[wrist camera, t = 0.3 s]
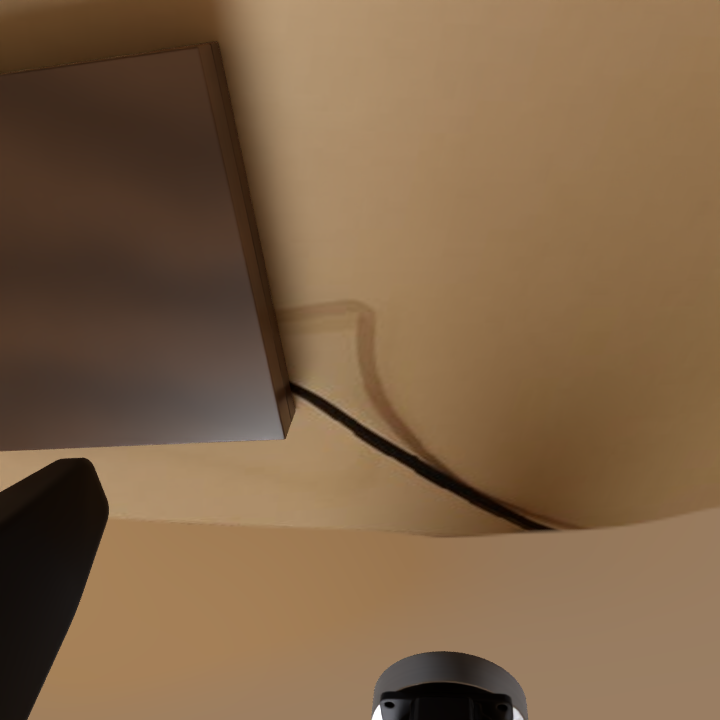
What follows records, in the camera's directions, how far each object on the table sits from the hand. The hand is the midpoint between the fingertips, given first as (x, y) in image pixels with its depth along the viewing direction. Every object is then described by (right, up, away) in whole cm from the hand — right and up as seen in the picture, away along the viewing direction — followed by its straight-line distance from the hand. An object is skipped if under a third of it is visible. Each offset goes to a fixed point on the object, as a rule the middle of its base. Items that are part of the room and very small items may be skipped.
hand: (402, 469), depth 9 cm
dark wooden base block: (-11, +5, +17) cm, 21 cm away
